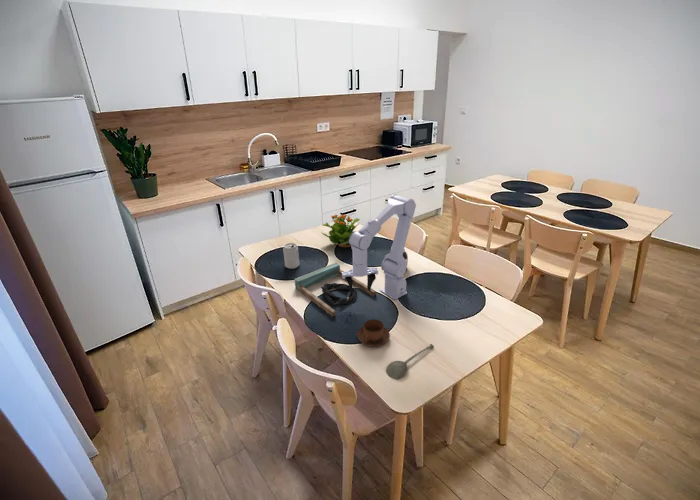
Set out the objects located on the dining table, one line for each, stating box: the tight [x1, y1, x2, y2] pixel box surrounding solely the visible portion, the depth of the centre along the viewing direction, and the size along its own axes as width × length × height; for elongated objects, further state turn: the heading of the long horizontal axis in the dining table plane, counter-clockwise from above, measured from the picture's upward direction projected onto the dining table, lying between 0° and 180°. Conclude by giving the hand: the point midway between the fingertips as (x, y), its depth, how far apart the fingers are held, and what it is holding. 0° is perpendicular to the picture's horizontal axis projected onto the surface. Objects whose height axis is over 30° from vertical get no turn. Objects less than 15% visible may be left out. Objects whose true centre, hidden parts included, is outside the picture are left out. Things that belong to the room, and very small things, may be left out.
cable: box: [320, 282, 358, 306], centre depth 161 cm, size 17×14×4 cm
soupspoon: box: [385, 343, 435, 380], centre depth 123 cm, size 22×3×7 cm
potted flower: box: [321, 214, 361, 248], centre depth 204 cm, size 25×24×18 cm
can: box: [282, 242, 300, 270], centre depth 184 cm, size 8×8×12 cm
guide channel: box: [294, 262, 377, 318], centre depth 163 cm, size 29×24×5 cm
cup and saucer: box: [357, 319, 391, 347], centre depth 133 cm, size 12×12×6 cm
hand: (360, 290), depth 147 cm, fingers open, 7 cm apart
